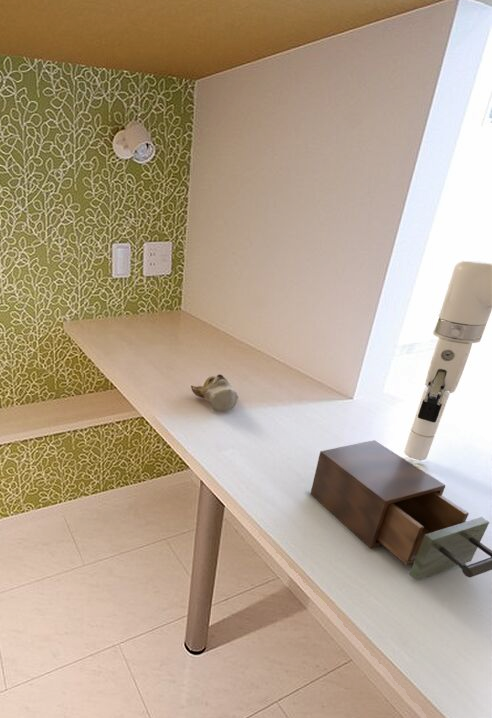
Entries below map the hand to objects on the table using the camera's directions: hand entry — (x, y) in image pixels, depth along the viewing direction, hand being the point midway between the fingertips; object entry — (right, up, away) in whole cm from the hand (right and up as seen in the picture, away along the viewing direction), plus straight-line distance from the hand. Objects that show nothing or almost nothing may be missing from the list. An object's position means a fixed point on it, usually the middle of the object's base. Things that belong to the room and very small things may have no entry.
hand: (429, 414), depth 89 cm
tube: (0, -9, +4) cm, 10 cm away
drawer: (-15, -21, -20) cm, 33 cm away
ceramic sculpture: (-39, +2, +28) cm, 48 cm away
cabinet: (-19, -17, -11) cm, 27 cm away
